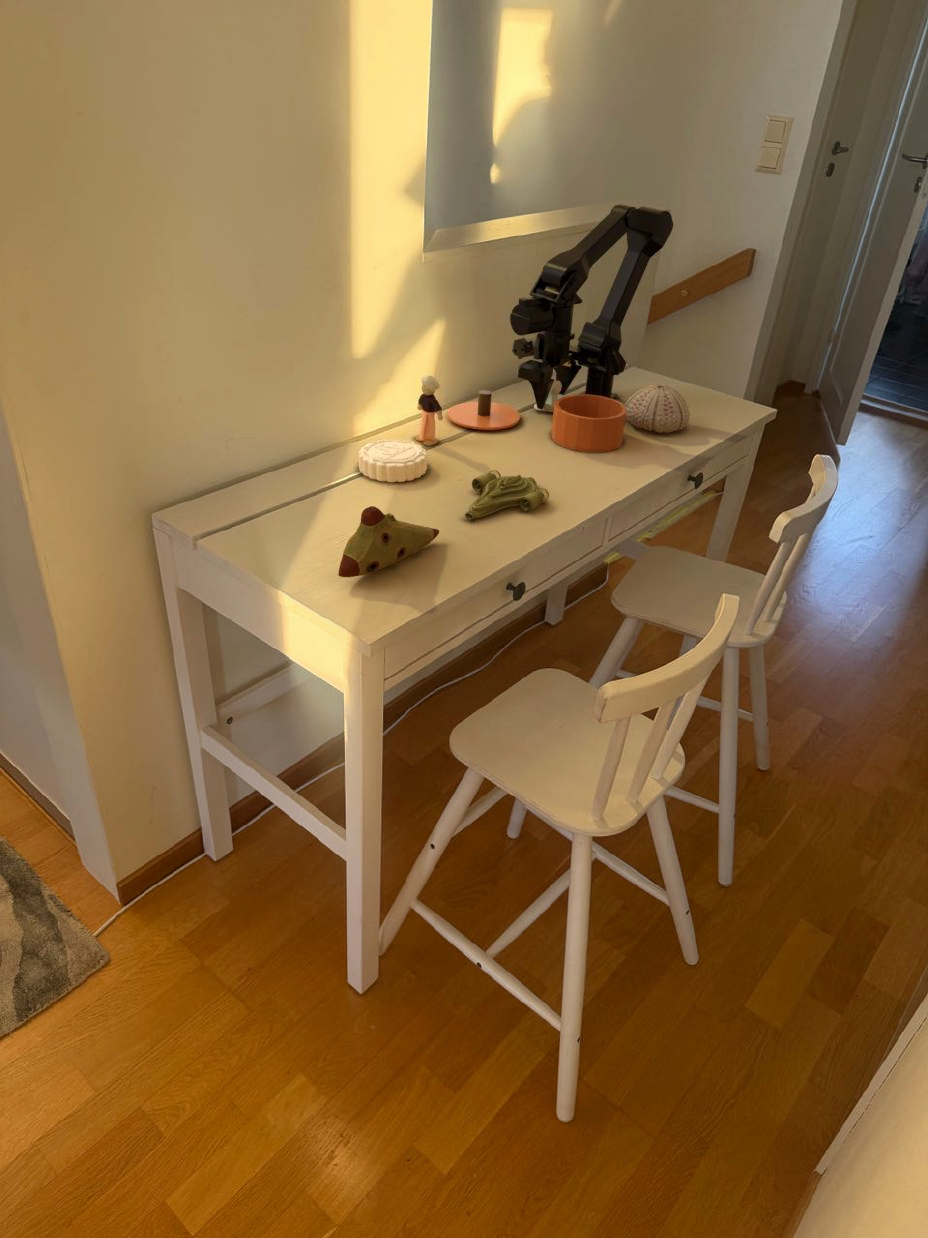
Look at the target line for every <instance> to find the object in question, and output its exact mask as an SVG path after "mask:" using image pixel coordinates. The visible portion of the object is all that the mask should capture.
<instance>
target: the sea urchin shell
mask: <svg viewBox="0 0 928 1238" xmlns="http://www.w3.org/2000/svg"><path fill="white" fill-rule="evenodd" d="M623 405H624V406H625V407H626V408H627V411H626V418H625V419H626V421H627V422H630V424H631V425H634V426H635V427H636V428H638V429H644V430H645V431H648V432H649V431H650V432H652V431H654V432H656V433H661V434H662V433H664V434H667V433H668V434H669V433H670V434H671V433H672V432H678V431H681V430H682V429H683V428H685V426H687V424H688V423H689V420H690V418H691V417H690V416H691V413H690V412H691V411H690V410H689V406H688V405H687V401H686V400H685V398H684V396H683V395H682V394H681V393H680V392H679V391H678V390H677V389H676V388H674V387H673V386H671V385H667V384H666V385H665V384H660V383H653V384H651V385H646V386H645V387H642V388H640V389H637V391H636V392H632V395H631V396H629V398H628V399H627V400H626V402H625V403H623Z"/></svg>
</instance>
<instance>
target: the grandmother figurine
mask: <svg viewBox="0 0 928 1238" xmlns="http://www.w3.org/2000/svg"><path fill="white" fill-rule="evenodd" d="M421 383H422V385H421V392H422V393H421V395H420V396H419V398H418V402H417V407H416V409H417V410H418V411H421V420H420V426H419V434H417V435H416V436H415V440H416V441H419V442H422V443H423V445H425V446H433V445H436V444H437V443H438V440H437V439H436V418H437V420H438V421H443V420H444V416H443V408H442V405H441V404H440V402H439V401H438V399H437V398H436V396H435V393H436V391H437V390H438V389H439V388H440V387H441V385H440V383H439V381H438V380H437V378H436V377H435V376H432V375H429V374H425V375H424V376H422V378H421ZM435 416H437V417H435Z"/></svg>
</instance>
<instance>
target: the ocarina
mask: <svg viewBox="0 0 928 1238" xmlns="http://www.w3.org/2000/svg"><path fill="white" fill-rule="evenodd" d="M360 516H361V517H360V522H359V525H358V526H357V529H356V531H355V532H354V533H353V534H352V536H350V538H349V539H347V540H348V541H347V542H346V544H345V547H344V549H343V553H342V558H341V560H340V564H339V568H338V576H339V577H340V578H354V577H361V576H366V575H369V574H373V573H376V572H379V571H380V570H382V569H384V568H385V569H386V568H387V567H390V566H392V565H394V564H395V563H398V562H400V561H401V560H403V559H406V558H407V557H409V556H412V555H413V554H415V553H416V552H419V551H420V550H421V549H424V548H425V547H427V546H428V545H429V544H430V543H432V542H433V541H434V540H435V539H436V538H437V537H438V536H439V534H440V530H439V529H438V528H434V527H429V526H424V525H418V524H414V523H409V522H406V521H401V520H397V519H396V518H395V515H394V514H392V513H390V512H388V513H386V514H384V512H383V511H382V510H381V509H380V508H378V507H376V506H374V505H371V506H368V507H366V508H364V509H363V510H362V512H361V515H360Z"/></svg>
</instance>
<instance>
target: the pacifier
mask: <svg viewBox="0 0 928 1238" xmlns="http://www.w3.org/2000/svg"><path fill="white" fill-rule="evenodd" d="M561 387H562V385H561V382H560V381H556V380H555V381H554V383H553V385H552V388H551V390H550V395H548V398H547V400H546V403H545V405H544V407H543V409H538V408H537V404H536V403H534V405H533V408H534V410H536V411H539V412H548V413H554V404H555V402H556V400H557V399H559V398H561V397H563V396H565V394H564V395H561V394H558V393H559V392H560V391H561Z"/></svg>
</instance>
